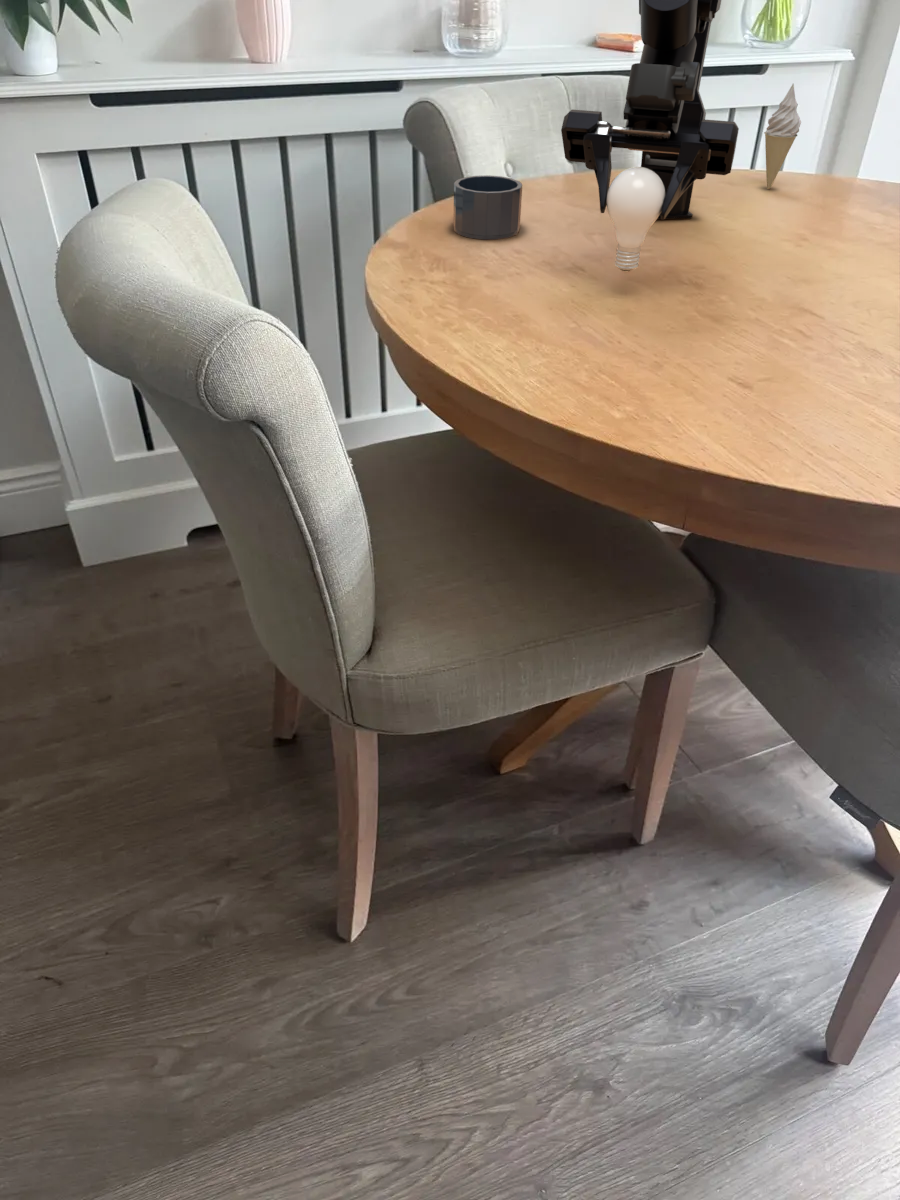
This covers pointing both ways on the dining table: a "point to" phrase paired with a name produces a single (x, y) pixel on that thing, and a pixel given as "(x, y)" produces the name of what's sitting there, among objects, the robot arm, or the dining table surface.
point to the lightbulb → (633, 211)
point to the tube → (487, 207)
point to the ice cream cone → (781, 135)
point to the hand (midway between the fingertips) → (631, 214)
